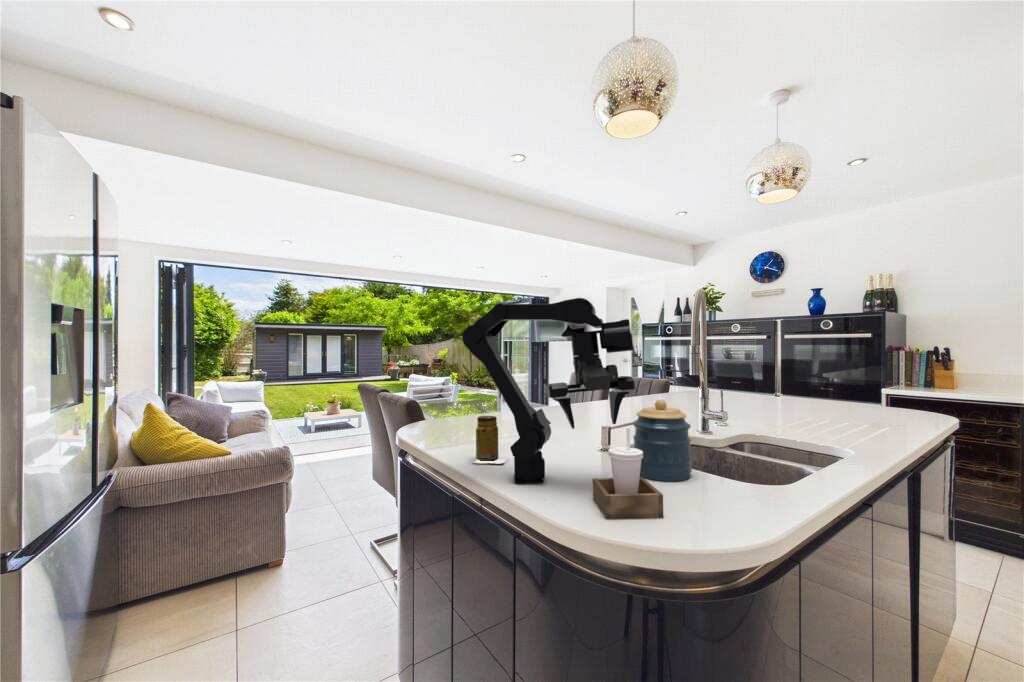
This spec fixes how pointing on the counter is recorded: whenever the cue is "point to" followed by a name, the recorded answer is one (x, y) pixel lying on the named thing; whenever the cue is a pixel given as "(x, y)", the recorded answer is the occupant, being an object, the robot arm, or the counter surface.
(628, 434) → the smoothie
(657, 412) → the canister
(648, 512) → the wooden box
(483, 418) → the condiment
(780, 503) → the counter surface
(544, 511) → the counter surface
